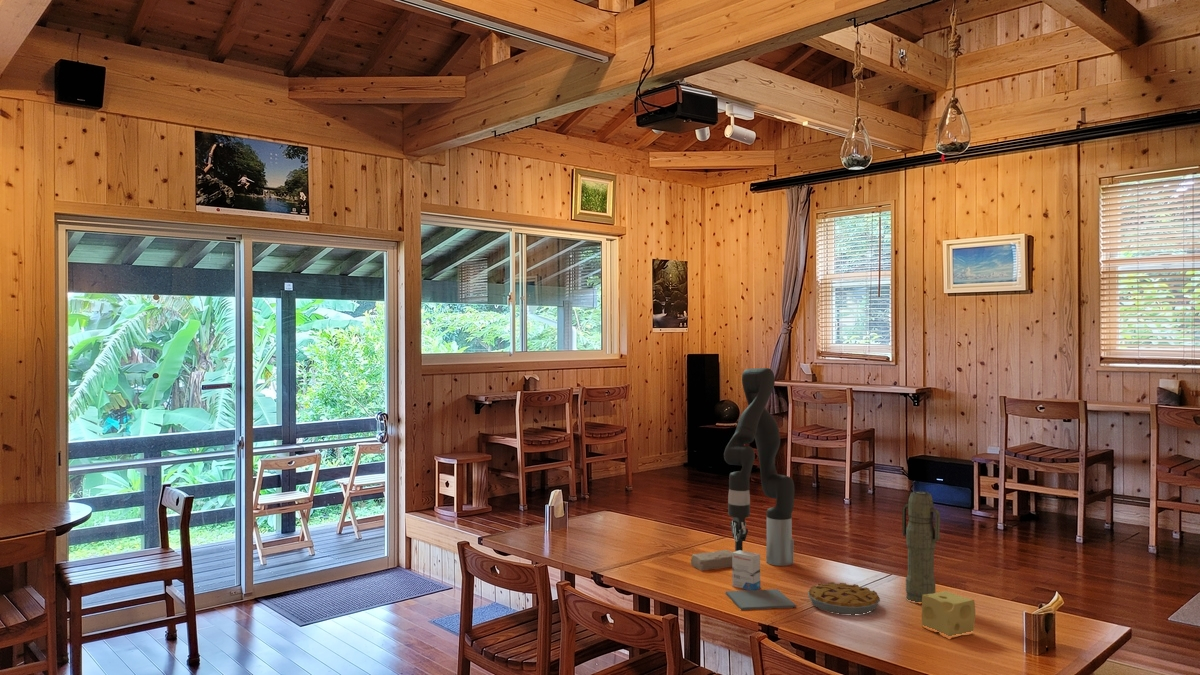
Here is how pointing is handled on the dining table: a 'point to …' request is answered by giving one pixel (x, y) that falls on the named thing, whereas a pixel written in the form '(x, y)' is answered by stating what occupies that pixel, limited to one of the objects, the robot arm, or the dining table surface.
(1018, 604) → the dining table surface
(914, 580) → the dark olive tall piece
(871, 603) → the pie
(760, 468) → the robot arm
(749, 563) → the ink box
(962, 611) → the cheese
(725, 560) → the brick
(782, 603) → the mat
